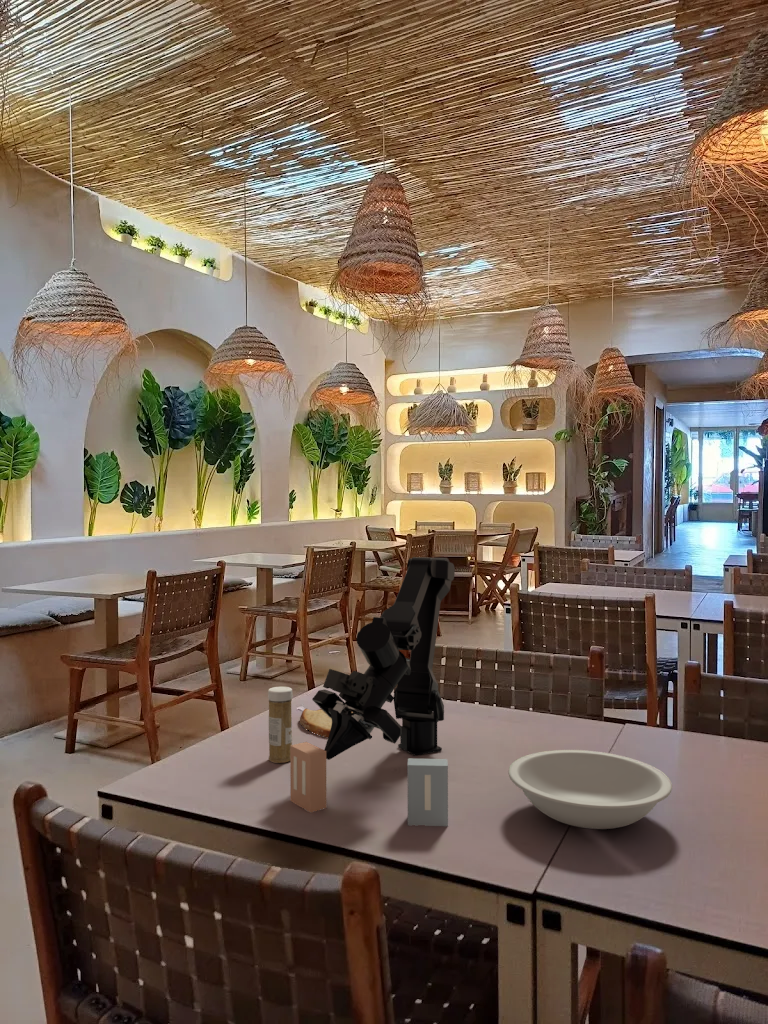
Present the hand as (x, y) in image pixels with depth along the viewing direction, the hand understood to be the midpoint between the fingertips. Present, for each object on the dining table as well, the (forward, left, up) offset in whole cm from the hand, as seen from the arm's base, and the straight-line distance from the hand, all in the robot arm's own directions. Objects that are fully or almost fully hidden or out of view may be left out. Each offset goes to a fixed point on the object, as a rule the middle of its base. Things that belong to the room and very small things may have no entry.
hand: (325, 757), depth 120 cm
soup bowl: (-32, +26, -7) cm, 42 cm away
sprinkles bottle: (-1, -22, -7) cm, 23 cm away
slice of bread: (-19, -37, -7) cm, 42 cm away
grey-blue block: (-10, +15, -7) cm, 19 cm away
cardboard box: (+3, 0, -7) cm, 8 cm away
